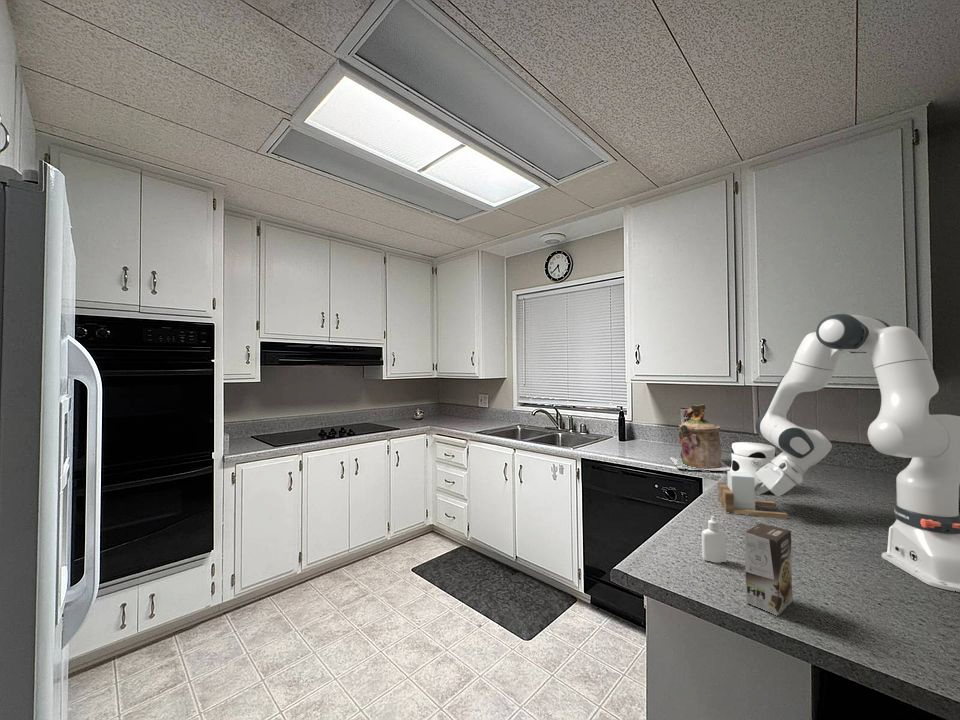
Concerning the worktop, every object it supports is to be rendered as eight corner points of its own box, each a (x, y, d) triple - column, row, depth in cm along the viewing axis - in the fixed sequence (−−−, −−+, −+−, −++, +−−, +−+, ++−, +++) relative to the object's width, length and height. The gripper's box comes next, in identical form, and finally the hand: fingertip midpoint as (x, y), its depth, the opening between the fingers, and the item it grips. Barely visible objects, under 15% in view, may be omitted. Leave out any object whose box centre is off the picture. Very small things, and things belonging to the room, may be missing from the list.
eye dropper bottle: (704, 554, 115) (703, 511, 115) (727, 560, 112) (726, 516, 112) (700, 560, 112) (699, 516, 112) (724, 566, 108) (723, 521, 108)
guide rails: (787, 519, 139) (787, 514, 139) (726, 513, 145) (726, 509, 145) (775, 506, 151) (774, 502, 151) (719, 501, 157) (719, 497, 157)
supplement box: (756, 513, 145) (755, 477, 145) (731, 510, 147) (730, 475, 147) (750, 506, 152) (749, 471, 152) (727, 504, 154) (726, 470, 154)
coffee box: (778, 617, 87) (776, 541, 87) (744, 603, 92) (743, 531, 92) (794, 602, 92) (792, 530, 92) (761, 589, 97) (759, 521, 97)
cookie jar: (719, 461, 217) (718, 401, 217) (735, 474, 193) (733, 406, 194) (669, 459, 224) (667, 401, 224) (678, 471, 200) (676, 406, 200)
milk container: (779, 498, 160) (777, 451, 160) (727, 490, 170) (726, 447, 170) (780, 486, 173) (779, 444, 173) (732, 480, 184) (731, 440, 184)
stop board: (734, 514, 144) (733, 494, 144) (725, 513, 145) (725, 493, 145) (726, 501, 156) (725, 483, 157) (718, 501, 157) (718, 483, 157)
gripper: (769, 454, 155) (740, 478, 158) (788, 468, 136) (754, 495, 139) (783, 467, 153) (753, 491, 157) (805, 483, 134) (770, 510, 138)
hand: (754, 493), depth 148 cm, fingers closed, pressing on supplement box
